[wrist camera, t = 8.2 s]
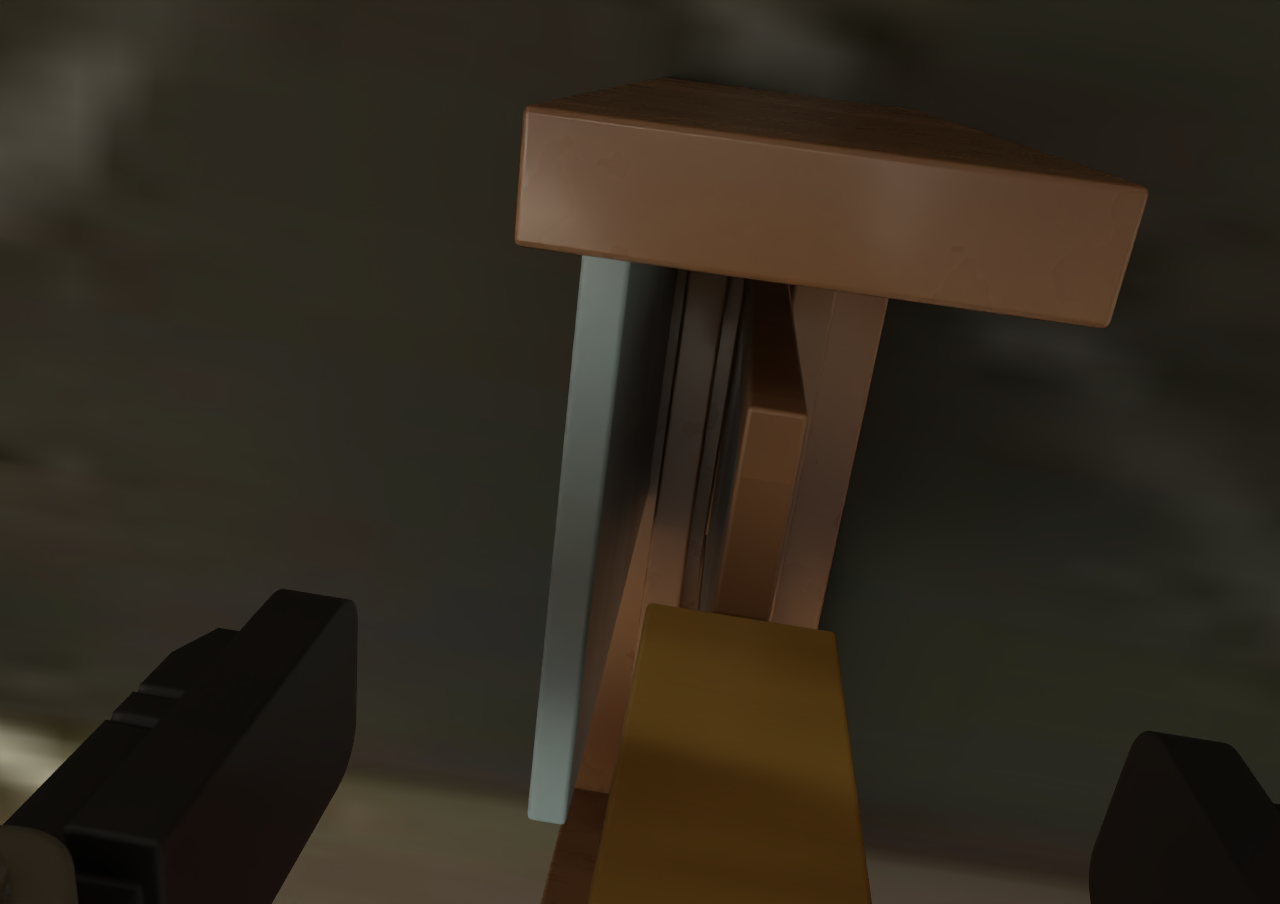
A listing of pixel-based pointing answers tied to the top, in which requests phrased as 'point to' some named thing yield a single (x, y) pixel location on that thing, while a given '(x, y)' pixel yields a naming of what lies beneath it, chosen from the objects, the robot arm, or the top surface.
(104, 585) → the top surface
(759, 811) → the sash
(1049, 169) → the window frame
